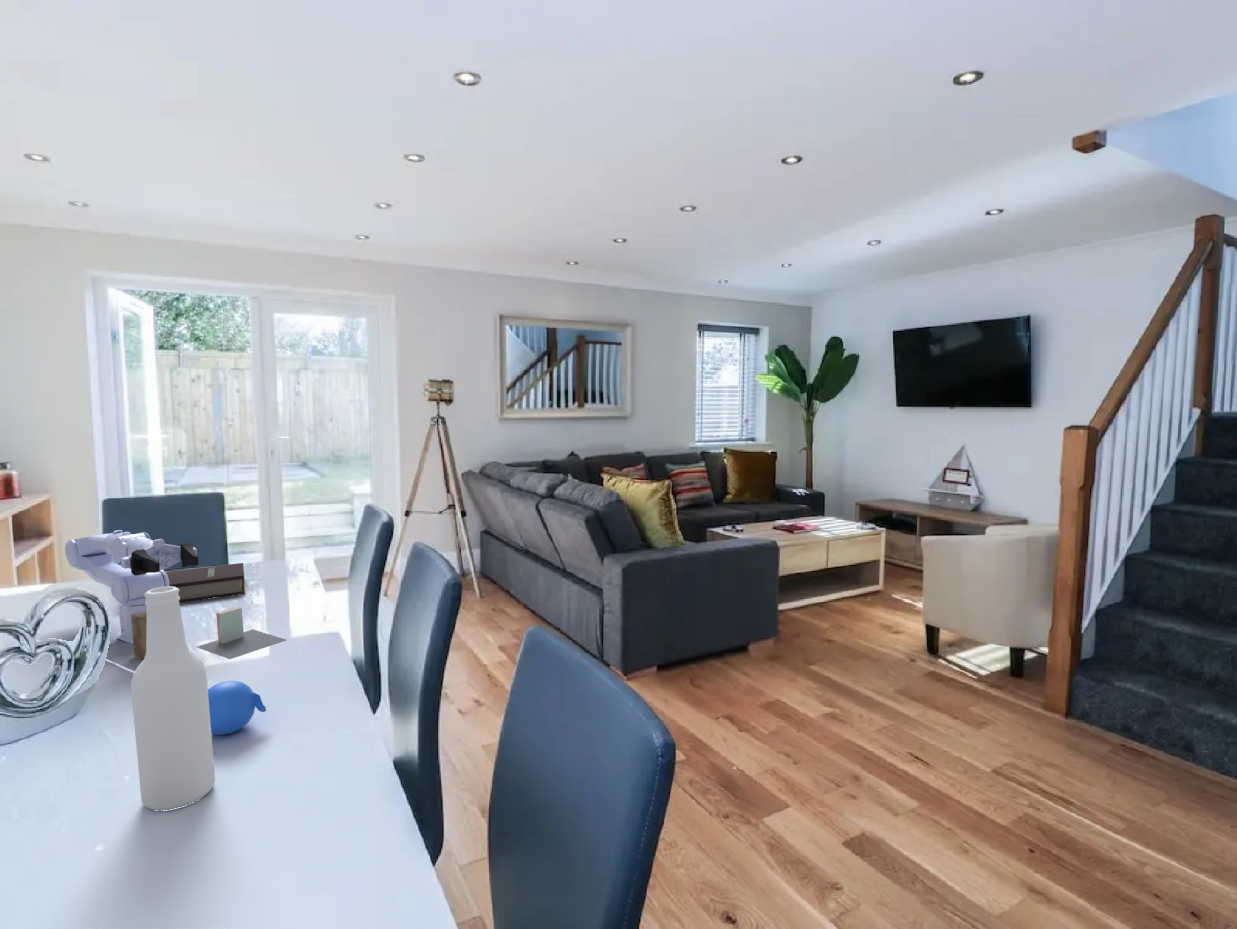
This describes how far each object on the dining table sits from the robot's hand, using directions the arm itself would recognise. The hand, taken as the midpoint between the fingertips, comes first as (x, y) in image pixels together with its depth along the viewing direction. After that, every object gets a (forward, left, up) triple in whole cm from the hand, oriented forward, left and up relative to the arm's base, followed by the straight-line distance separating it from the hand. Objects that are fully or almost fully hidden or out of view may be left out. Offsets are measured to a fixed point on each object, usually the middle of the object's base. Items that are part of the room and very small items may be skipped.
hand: (177, 564), depth 147 cm
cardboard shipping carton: (-5, -5, -20) cm, 22 cm away
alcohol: (+56, -27, -21) cm, 66 cm away
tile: (+1, +10, -20) cm, 22 cm away
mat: (+5, +10, -20) cm, 23 cm away
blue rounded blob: (+42, -12, -21) cm, 49 cm away
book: (-50, +25, -21) cm, 59 cm away
